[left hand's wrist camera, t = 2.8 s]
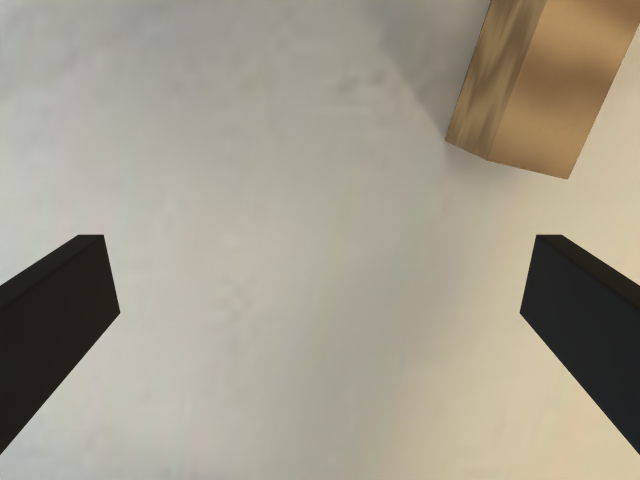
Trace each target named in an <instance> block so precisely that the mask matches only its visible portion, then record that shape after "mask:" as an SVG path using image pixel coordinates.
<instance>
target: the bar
mask: <svg viewBox="0 0 640 480" xmlns="http://www.w3.org/2000/svg"><path fill="white" fill-rule="evenodd" d="M639 23H640V0H491V3H490V6H489V9H488V12H487V15H486V18H485V21H484V24H483V27H482V30H481V33H480V36H479V39H478V42H477V45H476V48H475V51H474V54H473V57H472V60H471V63H470V66H469V69H468V72H467V75H466V78H465V81H464V84H463V87H462V90H461V93H460V96H459V99H458V102H457V105H456V108H455V111H454V114H453V117H452V120H451V123H450V126H449V129H448V132H447V135H446V138H445V141H447V142H449V143H451V144H453V145H455V146H457V147H459V148H462V149H464V150H466V151H468V152H470V153H472V154H474V155H476V156H479V157H481V158H483V159H485V160H487V161H491V162H496V163H500V164H504V165H508V166H512V167H517V168H521V169H525V170H529V171H533V172H538V173H542V174H546V175H550V176H554V177H559V178H563V179H568V178H569V176H570V174H571V172H572V169H573V167H574V165H575V163H576V161H577V159H578V156H579V154H580V152H581V150H582V148H583V145H584V143H585V141H586V139H587V137H588V135H589V132H590V130H591V128H592V126H593V124H594V121H595V119H596V117H597V115H598V113H599V111H600V108H601V106H602V104H603V102H604V100H605V97H606V95H607V93H608V91H609V89H610V87H611V84H612V82H613V80H614V78H615V76H616V73H617V71H618V69H619V67H620V65H621V63H622V60H623V58H624V56H625V54H626V52H627V49H628V47H629V45H630V43H631V41H632V39H633V36H634V34H635V32H636V30H637V28H638V25H639Z"/></svg>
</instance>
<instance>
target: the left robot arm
mask: <svg viewBox="0 0 640 480" xmlns="http://www.w3.org/2000/svg"><path fill="white" fill-rule="evenodd" d="M119 314H120V309H119V304H118V300H117V295H116V290H115V286H114V281H113V276H112V272H111V267H110V262H109V258H108V253H107V248H106V244H105V239H104V235H77V236H76V237H74V238H73V239H71V240H70V241H68V242H66V243H65V244H63V245H62V246H60V247H59V248H57V249H56V250H54V251H53V252H51V253H50V254H48V255H47V256H45V257H43V258H42V259H40V260H39V261H37V262H36V263H34V264H33V265H31V266H30V267H28V268H27V269H25V270H24V271H22V272H21V273H19V274H17V275H16V276H14V277H13V278H11V279H10V280H8V281H7V282H5V283H4V284H2V285H1V286H0V455H1V453H2V452H3V451H4V450H5V449H6V448H7V446H8V445H9V444H10V443H11V442H12V440H13V439H14V438H15V437H16V436H17V435H18V433H19V432H20V431H21V430H22V429H23V427H24V426H25V425H26V424H27V423H28V422H29V420H30V419H31V418H32V417H33V416H34V414H35V413H36V412H37V411H38V410H39V409H40V407H41V406H42V405H43V404H44V403H45V401H46V400H47V399H48V398H49V397H50V396H51V394H52V393H53V392H54V391H55V390H56V388H57V387H58V386H59V385H60V384H61V383H62V381H63V380H64V379H65V378H66V377H67V375H68V374H69V373H70V372H71V371H72V370H73V368H74V367H75V366H76V365H77V364H78V362H79V361H80V360H81V359H82V358H83V357H84V355H85V354H86V353H87V352H88V351H89V349H90V348H91V347H92V346H93V345H94V343H95V342H96V341H97V340H98V339H99V338H100V336H101V335H102V334H103V333H104V332H105V330H106V329H107V328H108V327H109V326H110V325H111V323H112V322H113V321H114V320H115V319H116V317H117V316H118V315H119ZM520 314H521V315H522V316H523V317H524V319H525V320H526V321H527V322H528V323H529V325H530V326H531V327H532V328H533V329H534V330H535V332H536V333H537V334H538V335H539V336H540V338H541V339H542V340H543V341H544V342H545V343H546V345H547V346H548V347H549V348H550V349H551V351H552V352H553V353H554V354H555V355H556V357H557V358H558V359H559V360H560V361H561V362H562V364H563V365H564V366H565V367H566V368H567V370H568V371H569V372H570V373H571V374H572V375H573V377H574V378H575V379H576V380H577V381H578V383H579V384H580V385H581V386H582V387H583V388H584V390H585V391H586V392H587V393H588V394H589V396H590V397H591V398H592V399H593V400H594V401H595V403H596V404H597V405H598V406H599V407H600V409H601V410H602V411H603V412H604V413H605V414H606V416H607V417H608V418H609V419H610V420H611V422H612V423H613V424H614V425H615V426H616V427H617V429H618V430H619V431H620V432H621V433H622V435H623V436H624V437H625V438H626V439H627V440H628V442H629V443H630V444H631V445H632V446H633V448H634V449H635V450H636V451H637V452H638V453H639V455H640V286H639V285H638V284H636V283H635V282H633V281H632V280H630V279H629V278H627V277H626V276H624V275H623V274H621V273H619V272H618V271H616V270H615V269H613V268H612V267H610V266H609V265H607V264H606V263H604V262H603V261H601V260H600V259H598V258H597V257H595V256H593V255H592V254H590V253H589V252H587V251H586V250H584V249H583V248H581V247H580V246H578V245H577V244H575V243H574V242H572V241H570V240H569V239H567V238H566V237H564V236H563V235H536V239H535V244H534V248H533V253H532V258H531V262H530V267H529V272H528V276H527V281H526V286H525V290H524V295H523V300H522V304H521V309H520Z"/></svg>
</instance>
